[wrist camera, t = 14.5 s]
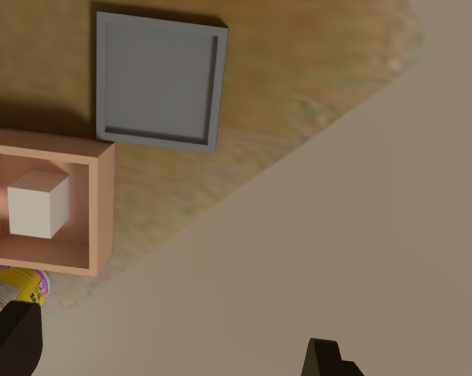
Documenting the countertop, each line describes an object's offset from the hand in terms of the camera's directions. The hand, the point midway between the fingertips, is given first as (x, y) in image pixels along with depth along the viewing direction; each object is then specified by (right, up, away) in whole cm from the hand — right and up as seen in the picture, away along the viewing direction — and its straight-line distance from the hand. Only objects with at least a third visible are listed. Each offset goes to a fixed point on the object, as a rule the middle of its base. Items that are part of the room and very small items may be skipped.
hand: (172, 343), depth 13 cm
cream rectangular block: (-18, +4, +34) cm, 39 cm away
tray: (-5, +15, +30) cm, 34 cm away
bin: (-18, +4, +35) cm, 39 cm away
